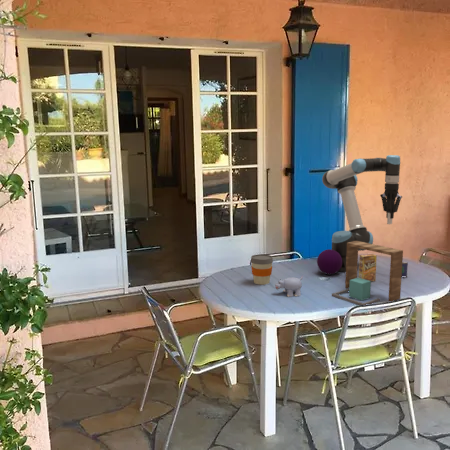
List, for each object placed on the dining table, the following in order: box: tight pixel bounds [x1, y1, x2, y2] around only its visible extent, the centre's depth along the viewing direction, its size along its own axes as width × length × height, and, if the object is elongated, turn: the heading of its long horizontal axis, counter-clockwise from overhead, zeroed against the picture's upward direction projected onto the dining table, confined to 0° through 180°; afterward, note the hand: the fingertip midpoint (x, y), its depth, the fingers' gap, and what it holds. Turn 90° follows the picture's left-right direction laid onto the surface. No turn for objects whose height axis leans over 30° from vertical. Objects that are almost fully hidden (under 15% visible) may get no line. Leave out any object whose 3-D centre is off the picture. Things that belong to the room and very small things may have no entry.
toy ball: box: [316, 248, 342, 275], centre depth 296 cm, size 15×15×15 cm
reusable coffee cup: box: [250, 253, 274, 286], centre depth 281 cm, size 13×13×15 cm
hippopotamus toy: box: [274, 275, 304, 298], centre depth 262 cm, size 11×15×10 cm
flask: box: [402, 261, 409, 277], centre depth 289 cm, size 9×3×11 cm, turn 88°
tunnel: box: [344, 241, 404, 302], centre depth 260 cm, size 29×8×26 cm, turn 37°
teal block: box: [348, 277, 372, 302], centre depth 255 cm, size 8×7×9 cm
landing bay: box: [331, 288, 381, 306], centre depth 254 cm, size 20×13×1 cm, turn 37°
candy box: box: [358, 253, 378, 282], centre depth 282 cm, size 9×4×15 cm, turn 107°
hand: (389, 223), depth 282 cm, fingers closed
